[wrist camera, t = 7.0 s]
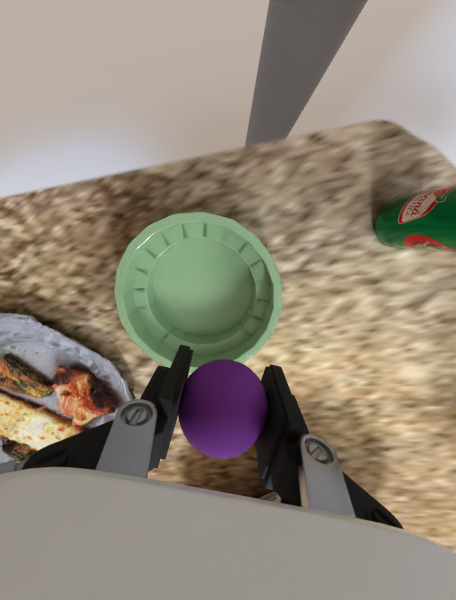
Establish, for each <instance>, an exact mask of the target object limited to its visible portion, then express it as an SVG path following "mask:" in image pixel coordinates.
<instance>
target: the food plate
mask: <svg viewBox="0 0 456 600" xmlns="http://www.w3.org/2000/svg"><path fill="white" fill-rule="evenodd" d="M32 319H33V320H32ZM34 320H35V321H34ZM36 321H37V320H36V319H35V318H34V317H33V316H29V315H23V314H14V313H0V463H4V462H8V461H12V460H15V459H17V463H19V462H23V461H26V460H28V459H29V458H30V457H31V456H32V455H33V454H34V453H36V452H37V451H38V450H40V449H42V448H44V447H46V446H48V445H50V444H53V443H55V442H58V441H61V440H63V439H66V438H68V437H71V436H73V435H76V434H78V433H81V432H83V431H86V430H89V429H91V428H94V427H96V426H99V425H101V424H104V423H106V422H109V421H111V420H114V419H115V416H116V413H117V411H118V409H119V408H120V407H121V406H122V405H123V404H124V403H126V402H128V401H131V400H135V397H134V394H133V393H132V391H133V389H134V388H132V390H131V392H130V391H129V388H130V387H129V382H128V381H127V380H125V379H123V378H122V377H121V375H120V374H121V371H120V369H119V368H118V367H117V366H116V365H115V364H114V363H112V362H110V361H109V360H108V359H107V358H106V357H105V356H104V358H103V357H102V356H101V355H100V354H98V353H96V352H94V351H92V350H91V349H89V348H88V347H86V346H85V345H83V344H81V343H80V342H78V341H77V340H75V339H72V338H68V337H67V336H65V335H63V334H62V333H61V332H59V331H58V330H57V329H56V330H54V329H51V328H49V327H47V326H45V325H44V326H43V325H42V324H41V323H40V322H39V323H38V321H37V322H36ZM105 358H106V359H107V360H106V359H105Z"/></svg>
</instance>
